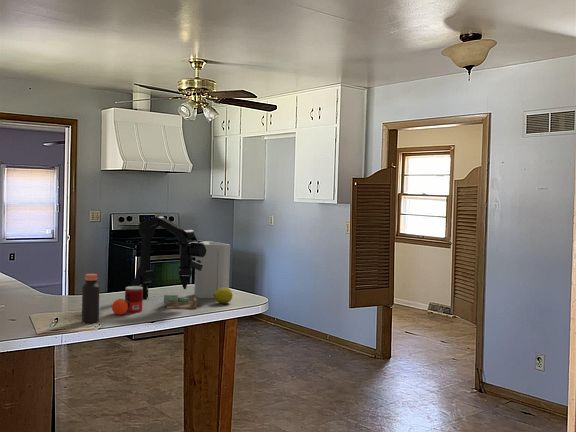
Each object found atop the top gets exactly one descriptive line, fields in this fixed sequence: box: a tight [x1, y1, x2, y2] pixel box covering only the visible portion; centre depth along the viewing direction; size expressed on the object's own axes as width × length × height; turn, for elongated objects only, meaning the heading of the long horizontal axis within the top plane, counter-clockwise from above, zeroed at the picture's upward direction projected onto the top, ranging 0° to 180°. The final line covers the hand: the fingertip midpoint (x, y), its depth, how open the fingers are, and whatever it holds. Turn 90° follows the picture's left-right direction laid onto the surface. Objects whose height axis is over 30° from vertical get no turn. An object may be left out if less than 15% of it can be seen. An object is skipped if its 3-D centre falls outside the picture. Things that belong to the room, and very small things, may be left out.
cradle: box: [165, 295, 198, 310], centre depth 290 cm, size 14×13×4 cm
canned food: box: [124, 285, 144, 314], centre depth 274 cm, size 8×8×11 cm
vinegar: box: [81, 273, 100, 324], centre depth 250 cm, size 7×7×20 cm
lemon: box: [213, 288, 233, 305], centre depth 299 cm, size 11×8×8 cm
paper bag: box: [193, 240, 231, 299], centre depth 317 cm, size 19×15×28 cm
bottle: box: [163, 294, 189, 305], centre depth 288 cm, size 4×4×12 cm
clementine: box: [111, 298, 129, 316], centre depth 266 cm, size 8×7×7 cm
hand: (184, 287), depth 289 cm, fingers open, 9 cm apart
